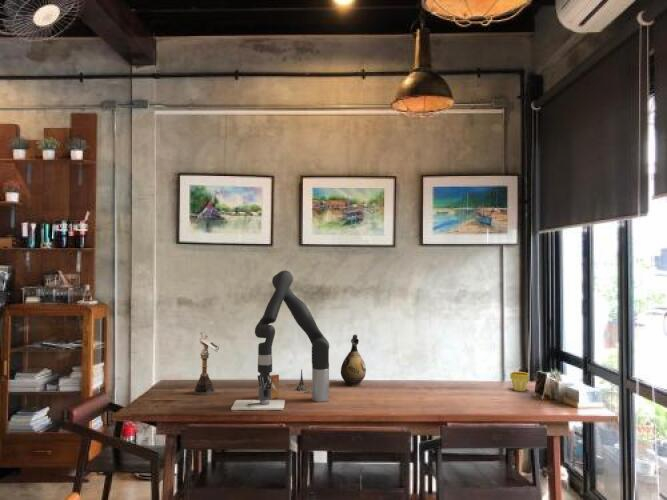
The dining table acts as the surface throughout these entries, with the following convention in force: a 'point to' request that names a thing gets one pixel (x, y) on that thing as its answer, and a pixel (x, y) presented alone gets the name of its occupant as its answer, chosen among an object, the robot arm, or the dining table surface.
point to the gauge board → (258, 405)
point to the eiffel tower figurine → (302, 385)
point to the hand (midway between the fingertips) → (264, 396)
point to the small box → (274, 385)
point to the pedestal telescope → (205, 369)
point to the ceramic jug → (353, 366)
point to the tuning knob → (263, 399)
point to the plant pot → (519, 380)
